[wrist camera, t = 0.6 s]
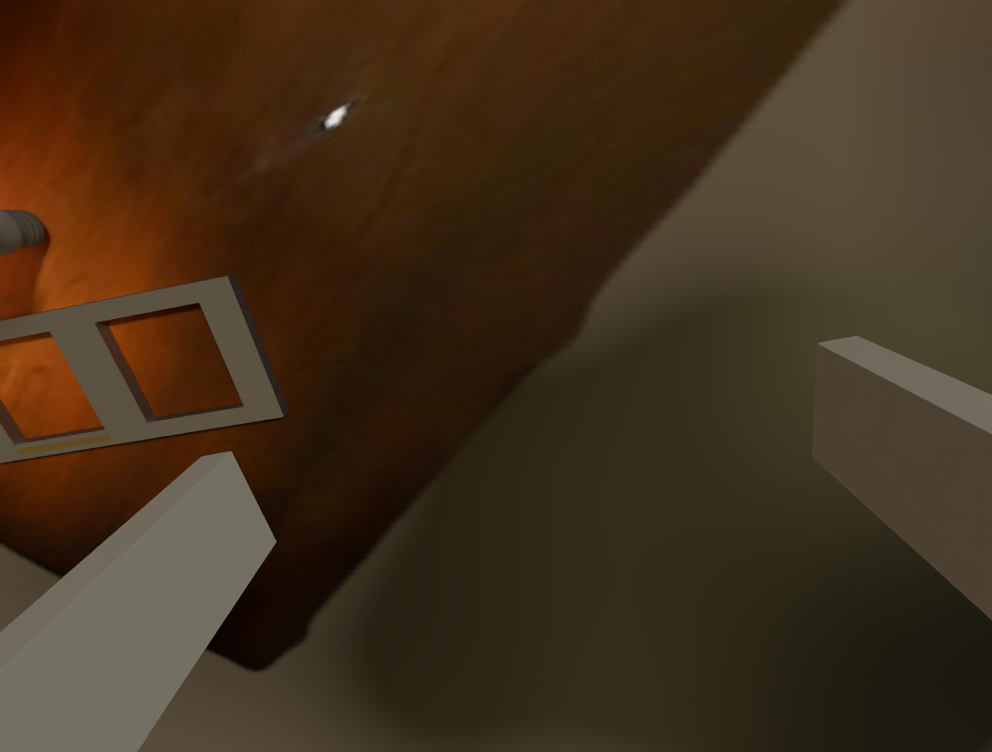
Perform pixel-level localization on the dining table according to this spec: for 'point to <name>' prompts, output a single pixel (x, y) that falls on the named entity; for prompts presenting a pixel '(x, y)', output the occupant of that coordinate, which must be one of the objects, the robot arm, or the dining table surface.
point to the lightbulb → (19, 231)
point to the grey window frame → (115, 384)
